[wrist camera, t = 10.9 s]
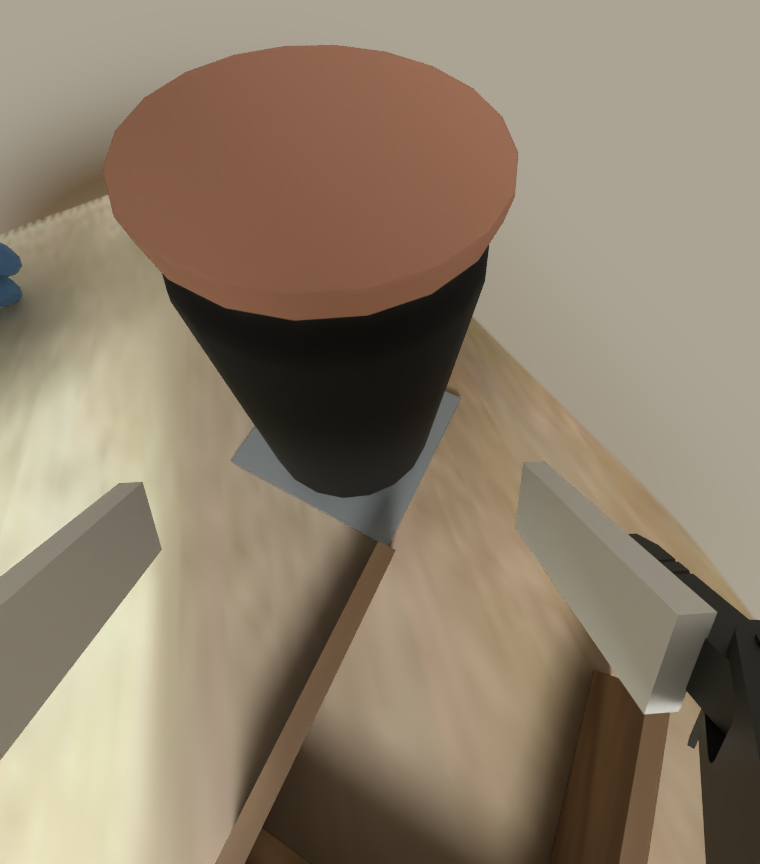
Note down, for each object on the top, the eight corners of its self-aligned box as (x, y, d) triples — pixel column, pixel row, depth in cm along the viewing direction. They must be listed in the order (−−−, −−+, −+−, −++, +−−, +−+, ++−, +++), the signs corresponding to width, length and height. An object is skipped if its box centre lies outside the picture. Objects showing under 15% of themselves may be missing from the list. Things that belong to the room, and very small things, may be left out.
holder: (231, 839, 18) (189, 914, 13) (376, 550, 23) (378, 541, 19) (530, 1065, 15) (590, 1243, 11) (611, 679, 21) (671, 700, 17)
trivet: (233, 463, 25) (230, 460, 25) (323, 340, 30) (322, 335, 29) (387, 547, 23) (388, 546, 23) (459, 401, 28) (460, 398, 27)
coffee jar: (343, 342, 29) (307, 11, 13) (454, 419, 26) (592, 128, 10) (242, 438, 25) (9, 151, 9) (360, 537, 23) (334, 387, 6)
